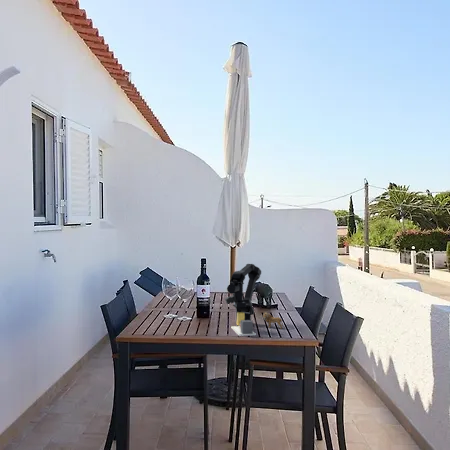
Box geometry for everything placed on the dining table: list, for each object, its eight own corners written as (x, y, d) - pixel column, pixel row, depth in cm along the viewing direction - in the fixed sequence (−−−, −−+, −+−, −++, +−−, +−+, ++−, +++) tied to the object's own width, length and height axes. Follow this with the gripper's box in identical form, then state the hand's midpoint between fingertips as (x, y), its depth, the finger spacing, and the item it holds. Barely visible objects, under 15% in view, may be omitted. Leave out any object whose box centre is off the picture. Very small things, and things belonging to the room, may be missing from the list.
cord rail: (231, 328, 296) (231, 315, 296) (246, 327, 298) (246, 314, 298) (239, 335, 274) (239, 322, 274) (255, 335, 276) (256, 321, 276)
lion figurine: (261, 327, 299) (261, 313, 299) (263, 325, 304) (264, 311, 304) (284, 329, 293) (284, 314, 294) (286, 327, 298) (286, 313, 299)
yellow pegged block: (236, 324, 294) (236, 312, 294) (243, 324, 295) (243, 312, 295) (237, 325, 290) (238, 313, 290) (244, 325, 291) (244, 313, 291)
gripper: (223, 290, 307) (222, 314, 307) (228, 294, 289) (228, 319, 289) (239, 289, 310) (239, 313, 309) (246, 293, 291) (246, 319, 291)
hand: (238, 316), depth 300 cm, fingers closed
